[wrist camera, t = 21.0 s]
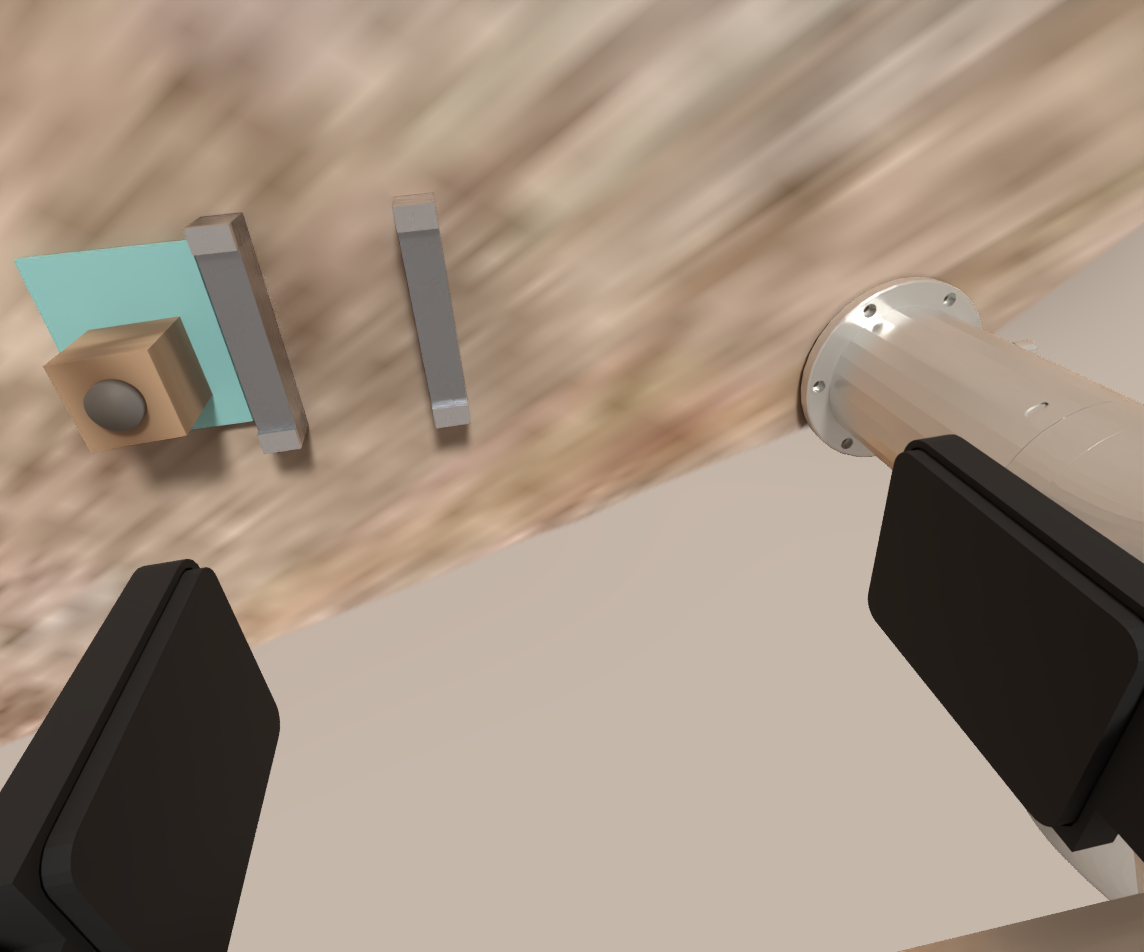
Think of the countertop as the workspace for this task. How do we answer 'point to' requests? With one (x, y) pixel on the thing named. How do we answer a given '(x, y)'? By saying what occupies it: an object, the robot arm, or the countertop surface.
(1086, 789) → the robot arm
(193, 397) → the wooden knob block
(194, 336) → the pad
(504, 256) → the countertop surface
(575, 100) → the countertop surface
